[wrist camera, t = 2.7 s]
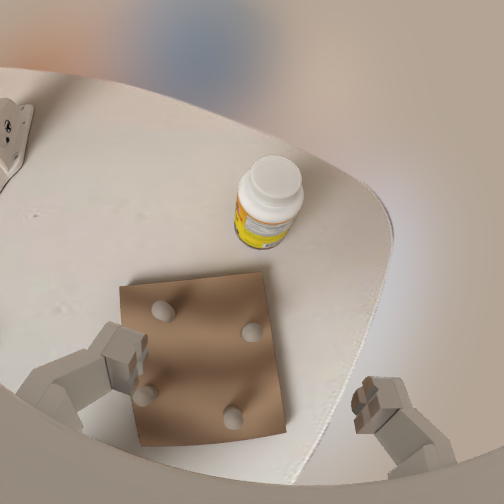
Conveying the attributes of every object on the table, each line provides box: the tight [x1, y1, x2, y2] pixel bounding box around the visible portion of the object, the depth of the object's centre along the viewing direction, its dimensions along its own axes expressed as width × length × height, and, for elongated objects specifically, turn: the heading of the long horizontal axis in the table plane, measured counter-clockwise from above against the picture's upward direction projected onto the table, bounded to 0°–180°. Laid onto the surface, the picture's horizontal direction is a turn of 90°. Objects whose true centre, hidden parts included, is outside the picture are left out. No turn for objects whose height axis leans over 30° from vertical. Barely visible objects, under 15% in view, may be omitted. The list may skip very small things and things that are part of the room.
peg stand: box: [119, 272, 286, 446], centre depth 23 cm, size 16×14×4 cm
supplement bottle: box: [234, 155, 304, 250], centre depth 26 cm, size 6×6×10 cm
